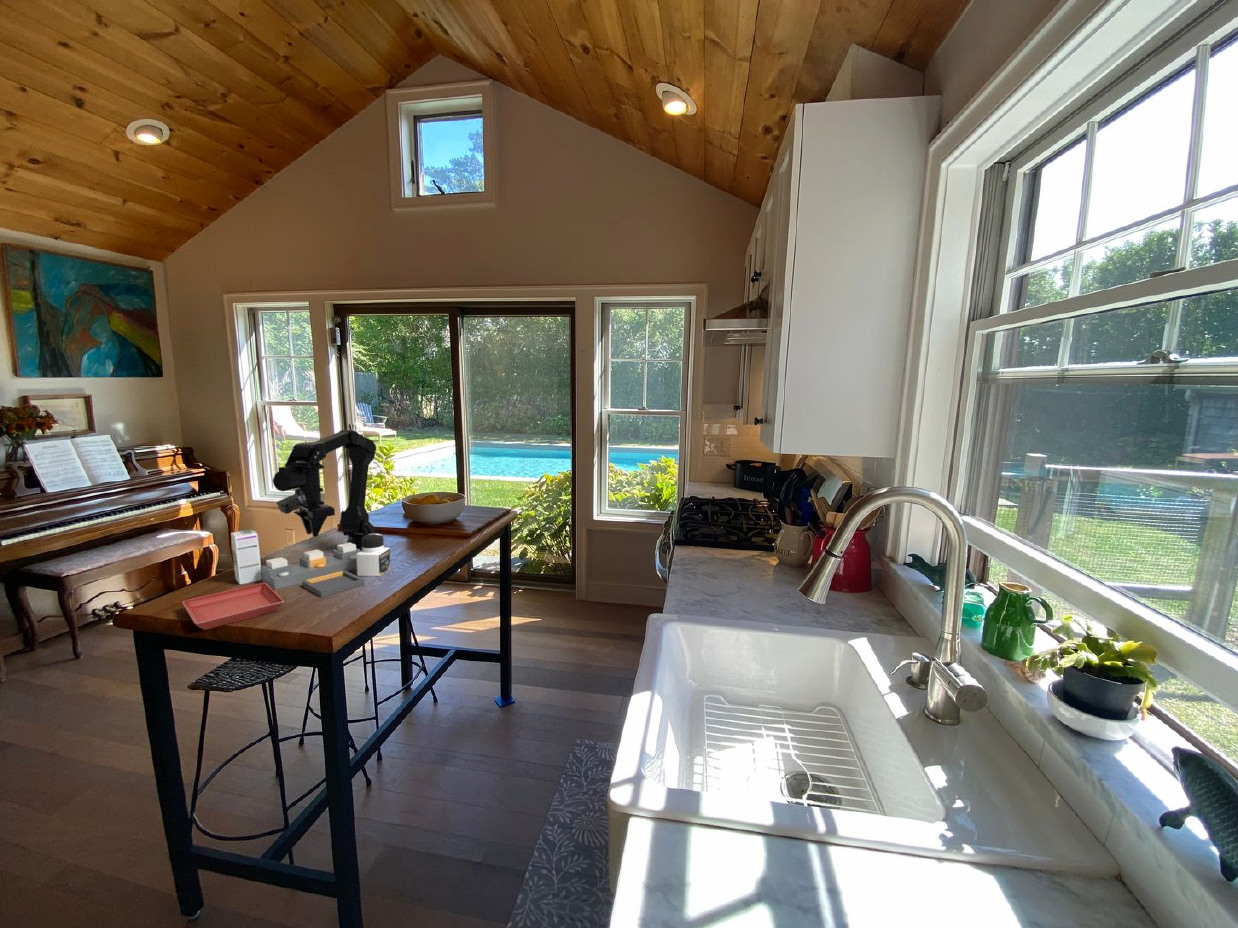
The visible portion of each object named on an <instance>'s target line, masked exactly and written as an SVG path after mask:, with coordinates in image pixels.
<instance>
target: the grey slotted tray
mask: <svg viewBox="0 0 1238 928" xmlns="http://www.w3.org/2000/svg"><path fill="white" fill-rule="evenodd" d="M332 552H333V555H332V556H326V555H325V554H323V558H319V559H314V560H310V561H309V560H307V559H304V556H300V557H299V563H297V564H291V563H290V562H287V564H288V566H283V567H279V568H275V569H270V568H268V567H267V564H263V565H261V573H262V583H266V584H267V585H268V586H269V587H271V588H272V589H273V590H274V591H276V590H280V589H283V588H287V587H292V586H295V585H299V584H302V581H305V580H309V579H313V578H317V577H320V576H324V575H328V574H332V573H336V572H340V571H344V570H345V571H347V572H350V571H354V570H357V558H356V554H357V553H359V552H360V549H358V548H356V550H354V551H349V552H345V553H342V552H340V551H338V550H337V548H336V549H333V551H332ZM349 570H350V571H349Z"/></svg>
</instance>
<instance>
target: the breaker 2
mask: <svg viewBox="0 0 1238 928" xmlns="http://www.w3.org/2000/svg"><path fill="white" fill-rule="evenodd" d="M336 549H337V550H338V551H340V552H342V553H345V552H349V551H354V550H356V545H355V544H352V543H347V542H346V543H341V544H338V545H336Z"/></svg>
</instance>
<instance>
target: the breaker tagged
mask: <svg viewBox="0 0 1238 928" xmlns="http://www.w3.org/2000/svg"><path fill="white" fill-rule="evenodd" d="M323 555H324V551H322V550H320V549H314V550H313V549H312V550H308V551H304V552H303V557H304V559H307V560H309V561H310V560H314V559H319V558H323Z"/></svg>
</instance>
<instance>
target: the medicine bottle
mask: <svg viewBox="0 0 1238 928" xmlns="http://www.w3.org/2000/svg"><path fill="white" fill-rule="evenodd" d="M384 544H385V543H384V535H382V534H380V533H374V534H368V535H365V536H364V537H362V549H363V550H362V551H360V552H359V553H357V554H356V558H357V569H356V576H358V577H381V576H382V575H384V574H385V573H386V572H388V571H389V570H390V569H391V557H390V555H391V554H390V553H391V552H390V547H385V546H384ZM387 570H388V571H387Z"/></svg>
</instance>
